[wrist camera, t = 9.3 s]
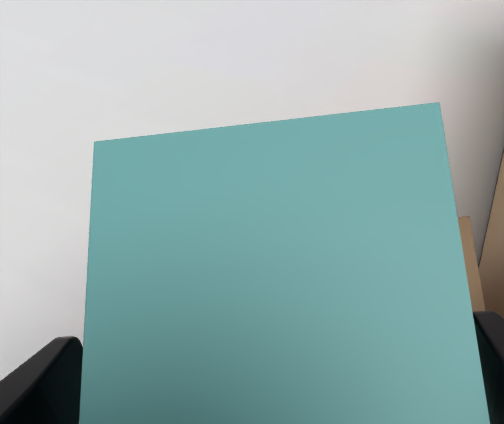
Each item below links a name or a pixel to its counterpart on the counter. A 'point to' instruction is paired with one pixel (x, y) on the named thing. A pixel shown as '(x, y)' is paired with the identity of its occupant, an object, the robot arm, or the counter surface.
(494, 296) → the box
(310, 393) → the lid
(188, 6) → the counter surface
